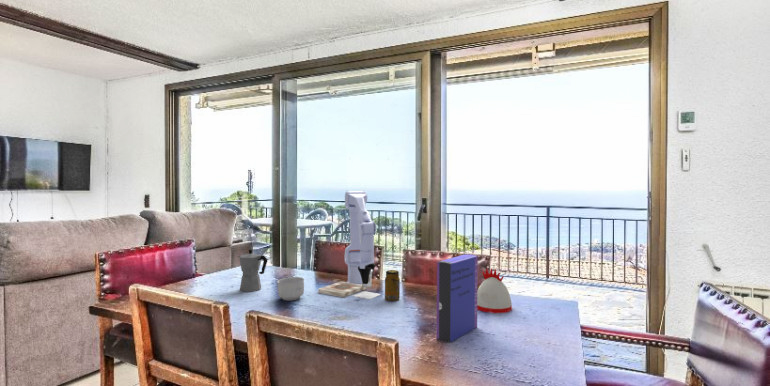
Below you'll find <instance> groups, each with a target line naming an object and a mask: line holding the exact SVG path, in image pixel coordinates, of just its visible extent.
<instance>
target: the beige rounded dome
mask: <svg viewBox="0 0 770 386" xmlns="http://www.w3.org/2000/svg"><path fill="white" fill-rule="evenodd" d="M481 272H482V275H483V278H484V280H483V281H482V282H481V284H480V285H479V286H477V311H481V312H485V313H488V314H489V313H490V314H505V313H510V312H511V311H512V309H513V308H512V307H513V304H512V299H511V296H510V293H509V290H508V288H507V286H506V284H505V283H504V281H503V280H504V275H503V276H501V278H500V275H501V272H498V273H497V269H496V268H495V269H494V270H493V268H491V269H490V271H489V269H488V268H485V272H484V271H481Z"/></svg>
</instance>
